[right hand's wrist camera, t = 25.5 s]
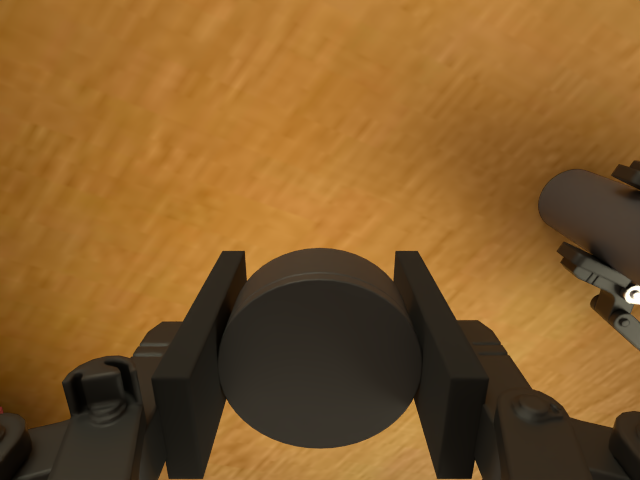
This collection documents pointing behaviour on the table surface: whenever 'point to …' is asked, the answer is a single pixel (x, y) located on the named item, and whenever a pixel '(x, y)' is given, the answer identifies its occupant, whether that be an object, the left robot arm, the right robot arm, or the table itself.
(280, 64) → the table surface
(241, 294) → the lid
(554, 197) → the dark grey cylinder
